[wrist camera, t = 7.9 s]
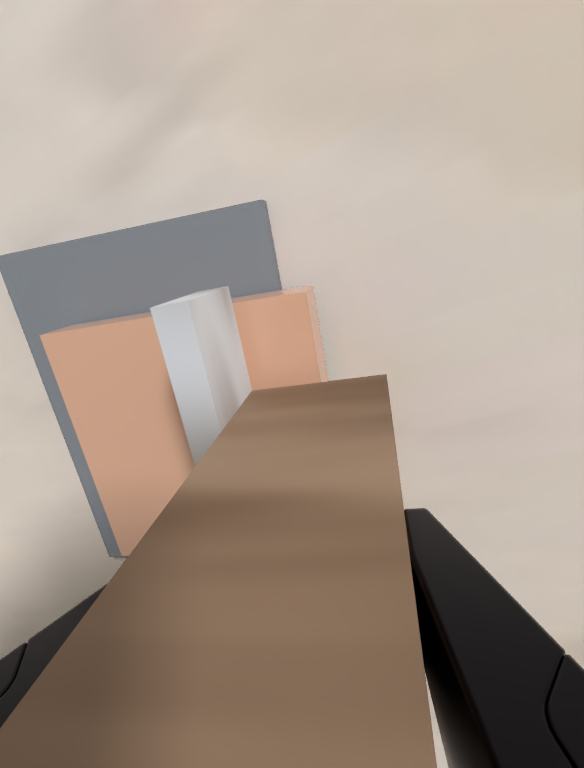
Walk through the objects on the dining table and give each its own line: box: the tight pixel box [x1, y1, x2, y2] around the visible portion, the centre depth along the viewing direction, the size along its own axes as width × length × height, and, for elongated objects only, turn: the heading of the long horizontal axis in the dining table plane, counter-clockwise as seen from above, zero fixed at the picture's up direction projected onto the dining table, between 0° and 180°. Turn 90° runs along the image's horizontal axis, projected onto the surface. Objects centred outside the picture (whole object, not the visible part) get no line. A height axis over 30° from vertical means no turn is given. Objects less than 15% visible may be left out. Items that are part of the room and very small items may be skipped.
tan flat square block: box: [40, 285, 328, 556], centre depth 13 cm, size 8×2×8 cm
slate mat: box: [0, 200, 282, 557], centre depth 15 cm, size 12×9×1 cm
